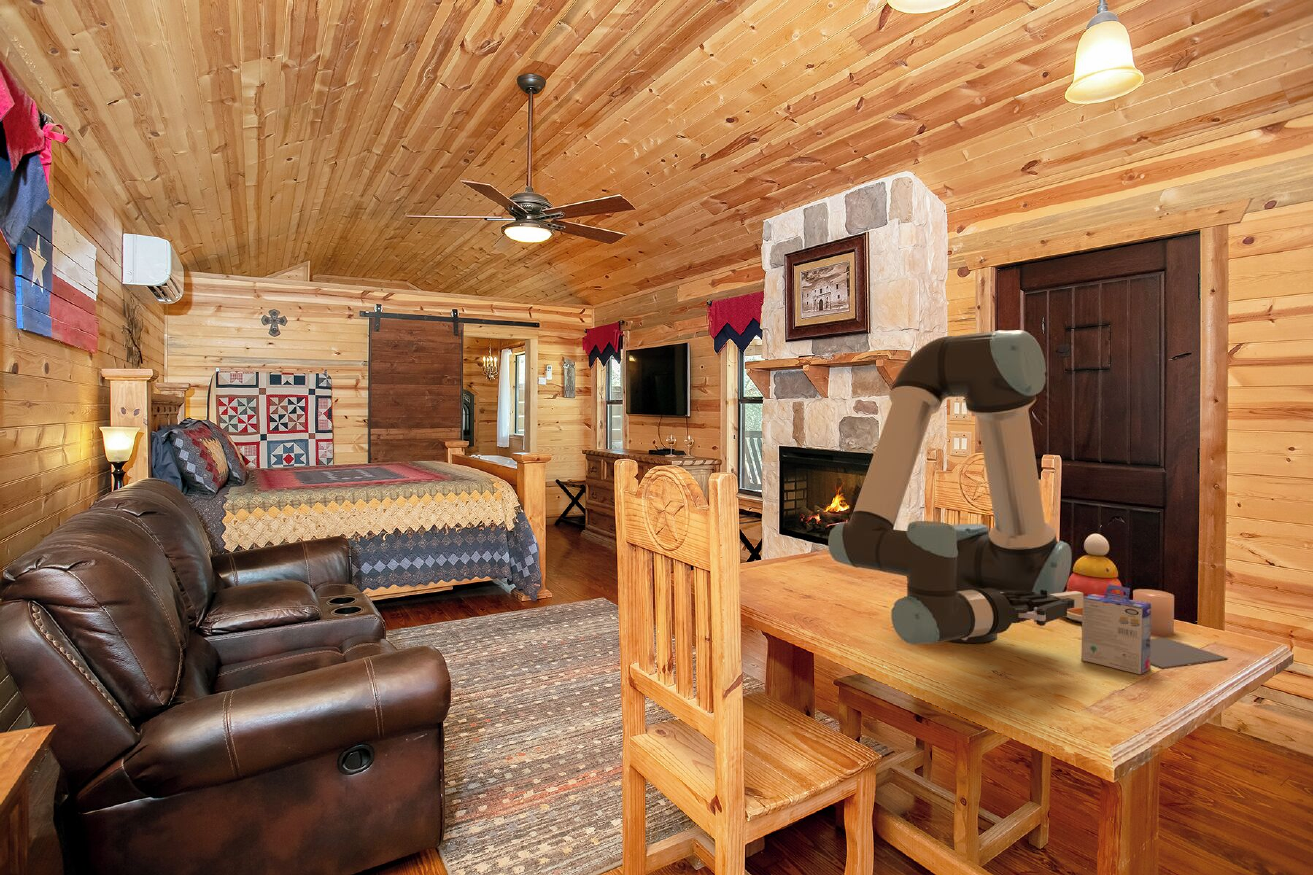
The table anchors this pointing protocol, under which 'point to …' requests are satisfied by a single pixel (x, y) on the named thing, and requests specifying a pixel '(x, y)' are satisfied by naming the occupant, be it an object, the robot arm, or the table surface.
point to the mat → (1178, 654)
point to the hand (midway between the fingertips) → (1079, 599)
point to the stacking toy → (1093, 573)
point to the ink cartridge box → (1116, 631)
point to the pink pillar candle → (1158, 610)
